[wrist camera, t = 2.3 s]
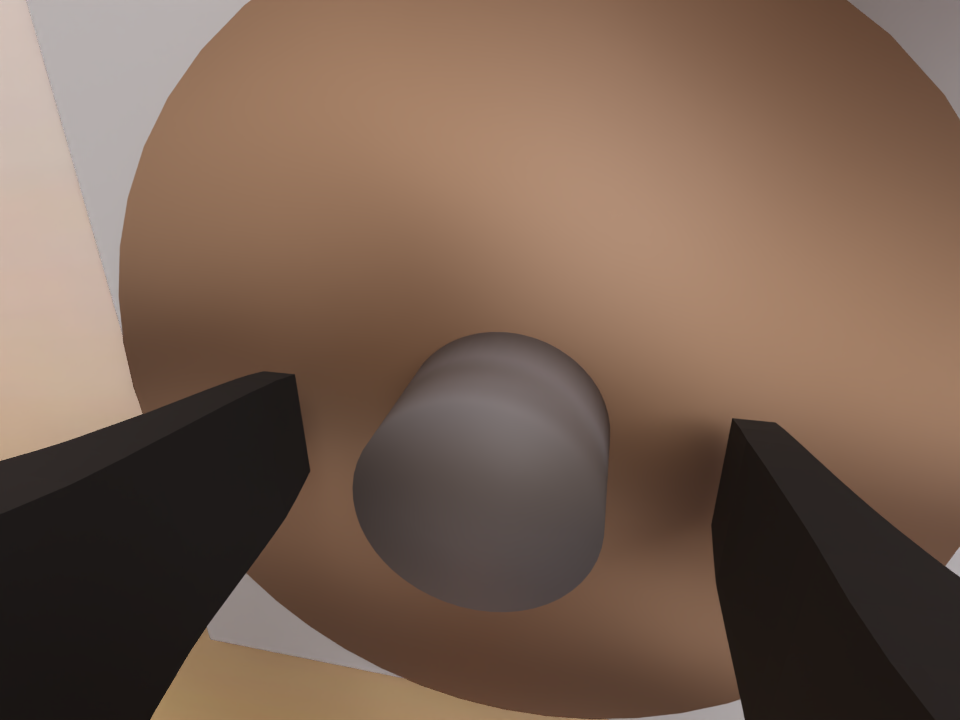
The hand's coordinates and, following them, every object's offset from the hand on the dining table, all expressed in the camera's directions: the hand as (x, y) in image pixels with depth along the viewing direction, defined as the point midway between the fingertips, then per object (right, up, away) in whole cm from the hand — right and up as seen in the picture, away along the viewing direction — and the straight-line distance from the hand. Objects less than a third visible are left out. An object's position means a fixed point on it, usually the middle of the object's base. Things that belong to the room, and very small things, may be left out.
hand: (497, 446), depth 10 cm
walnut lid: (0, +1, +1) cm, 1 cm away
